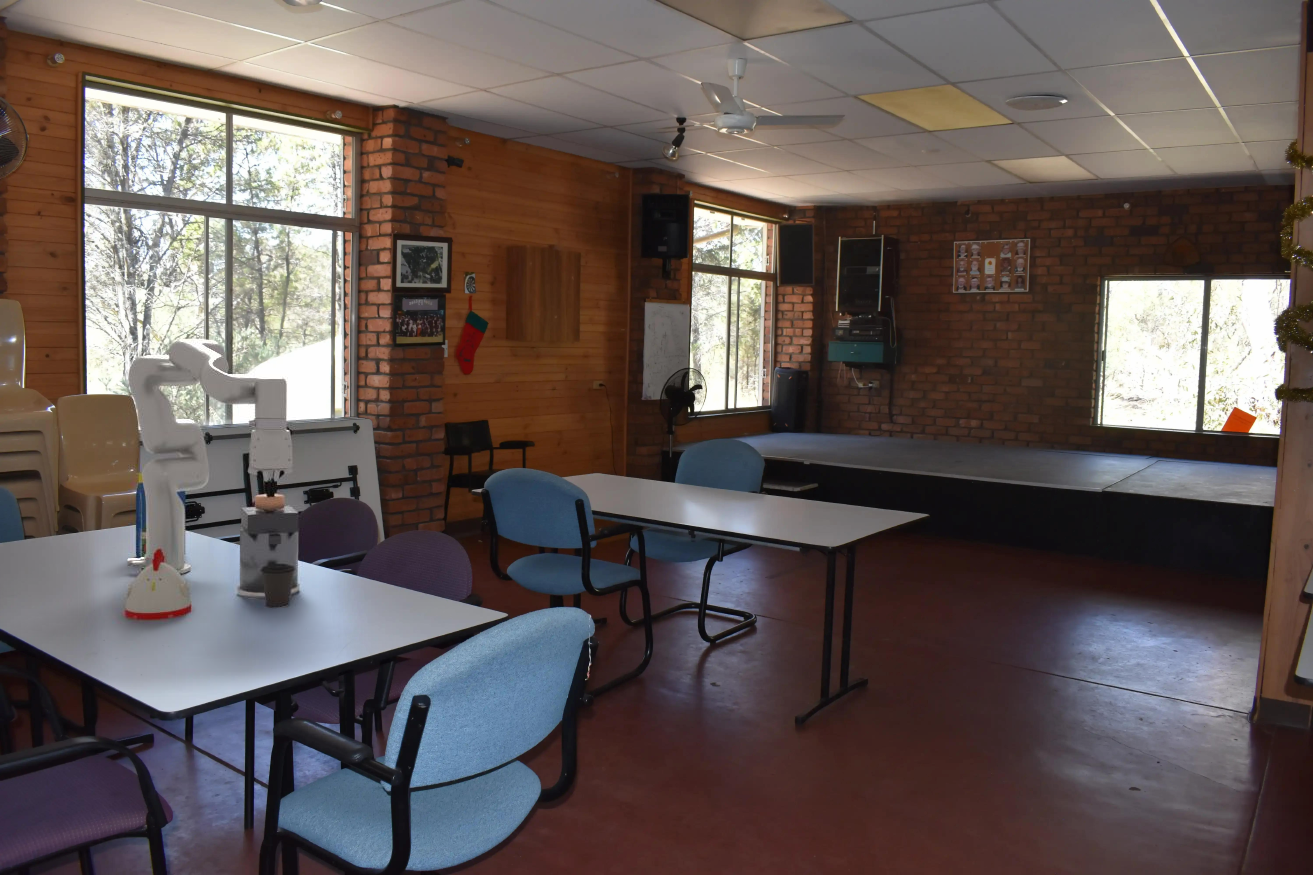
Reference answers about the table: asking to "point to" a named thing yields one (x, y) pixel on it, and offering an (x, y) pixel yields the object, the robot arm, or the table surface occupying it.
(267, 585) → the coffee cup
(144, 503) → the blue food package
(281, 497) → the button
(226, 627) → the table surface
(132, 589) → the kitchen timer
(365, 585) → the table surface
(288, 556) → the airpot
